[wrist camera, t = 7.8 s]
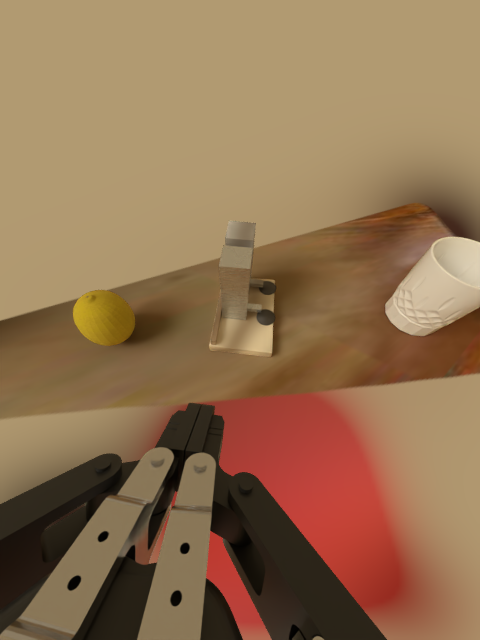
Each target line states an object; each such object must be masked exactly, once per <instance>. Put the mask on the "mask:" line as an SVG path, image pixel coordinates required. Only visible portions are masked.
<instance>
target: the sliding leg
mask: <svg viewBox="0 0 480 640" xmlns="http://www.w3.org/2000/svg"><path fill="white" fill-rule="evenodd" d="M252 250H253V248H248V247H237V246H227V245H224V246H223V250H222V254H221V258H220V263H219V276H220V289H221V303H222V316H223V318H229V319H239V320H246V315H247V311H251V312H261V308H262V305H260V304H250V303H248V297H249V285H250V274H251V262H252Z"/></svg>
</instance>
